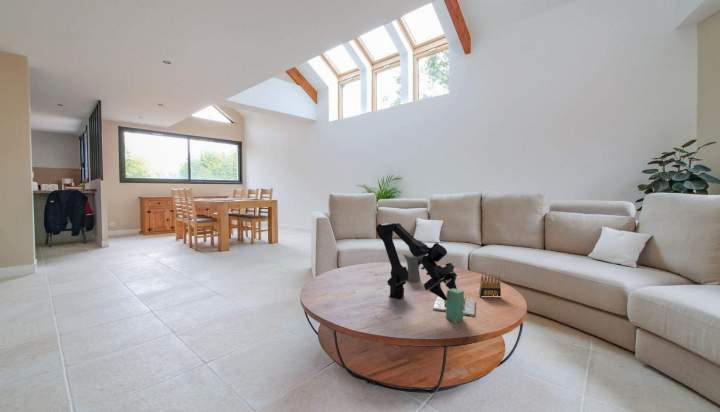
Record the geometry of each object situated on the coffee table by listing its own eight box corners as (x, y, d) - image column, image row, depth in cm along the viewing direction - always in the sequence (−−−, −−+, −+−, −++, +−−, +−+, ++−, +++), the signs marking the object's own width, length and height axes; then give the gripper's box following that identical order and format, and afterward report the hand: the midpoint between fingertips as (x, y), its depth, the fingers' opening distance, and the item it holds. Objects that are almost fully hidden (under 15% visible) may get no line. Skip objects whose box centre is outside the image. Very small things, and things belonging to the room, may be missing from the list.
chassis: (433, 309, 140) (433, 302, 140) (438, 296, 157) (438, 290, 157) (474, 316, 133) (474, 308, 133) (475, 302, 150) (475, 295, 150)
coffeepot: (400, 280, 183) (400, 251, 182) (405, 276, 191) (405, 248, 190) (424, 284, 176) (426, 254, 175) (429, 280, 184) (430, 251, 183)
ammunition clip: (480, 297, 157) (481, 275, 156) (478, 296, 159) (479, 273, 158) (500, 297, 157) (502, 275, 156) (499, 296, 159) (500, 274, 158)
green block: (446, 318, 131) (447, 290, 130) (452, 315, 134) (453, 287, 134) (456, 322, 127) (457, 293, 127) (462, 319, 131) (463, 291, 130)
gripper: (430, 260, 128) (452, 293, 121) (454, 254, 140) (475, 283, 133) (415, 274, 135) (435, 306, 127) (439, 267, 147) (458, 296, 139)
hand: (452, 297), depth 131 cm, fingers open, 9 cm apart
